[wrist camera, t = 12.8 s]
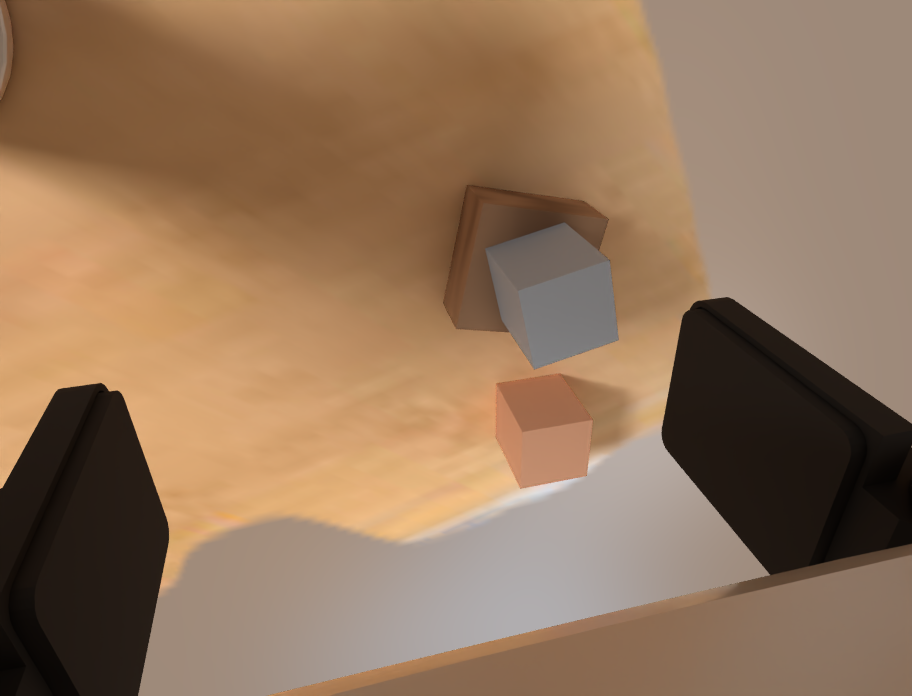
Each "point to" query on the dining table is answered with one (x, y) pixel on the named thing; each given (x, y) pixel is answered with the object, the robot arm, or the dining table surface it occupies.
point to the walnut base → (496, 222)
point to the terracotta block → (542, 430)
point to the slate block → (554, 294)
